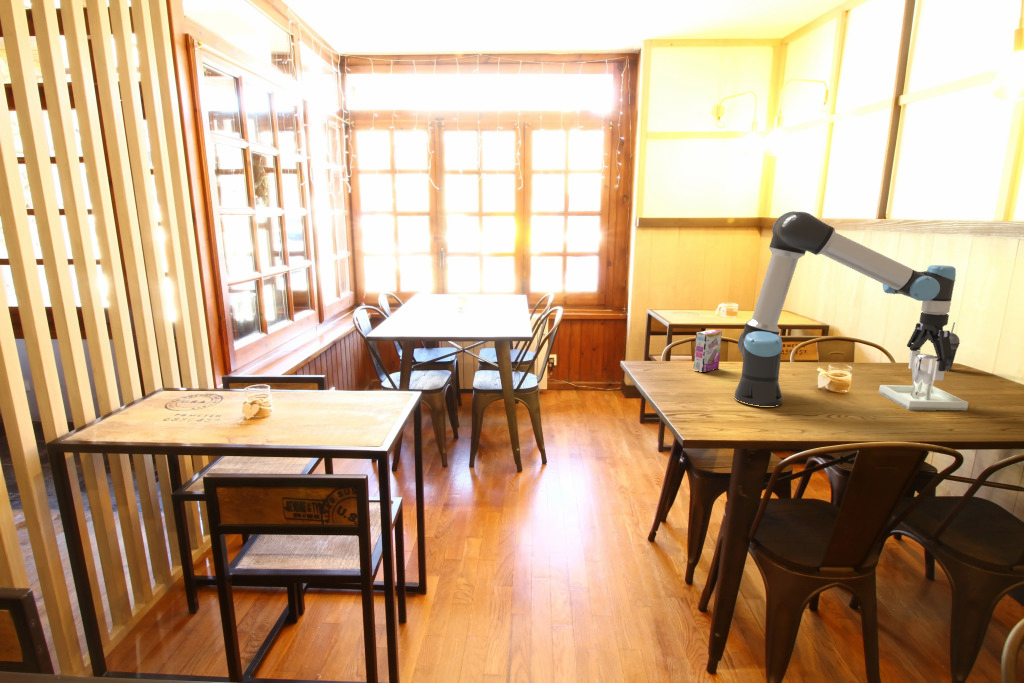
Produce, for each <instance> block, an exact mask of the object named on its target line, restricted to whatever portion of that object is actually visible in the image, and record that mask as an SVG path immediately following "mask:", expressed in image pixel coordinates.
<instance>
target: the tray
mask: <svg viewBox="0 0 1024 683" xmlns="http://www.w3.org/2000/svg"><path fill="white" fill-rule="evenodd" d="M912 388H913V385H906V384H905V385H902V384H901V385H898V384H897V385H896V384H893V385H891V384H879V389H878V394H880V395H882V396H883V397H885V398H887V399H888V400H891V401H892V402H894V403H896V404H898V405H899V406H900V407H902V408H904V409H907V410H908V411H936V410H966V411H965V412H968V407H969V402H968V401H966V400H964V399H962V398H961V397H958V396H955V395H954V394H952V393H949V392H947V391H945V390H943V389H941V388H938V387H936V386H935V385H933V386H932V390H931V401H930V400H914V399H912V398H910V394H911V392H912Z"/></svg>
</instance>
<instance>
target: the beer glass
mask: <svg viewBox="0 0 1024 683" xmlns="http://www.w3.org/2000/svg"><path fill="white" fill-rule="evenodd" d="M937 359H938V358H937V355H933V354H929V353H928V354H927V353H920V354H916V355H915V359H914V363H913V369H911V371H912V372H911V375H912V376H911V377H912V378H911V379H912V386H913V388H912V392H911V394H910V398H912V399H914V400H930V401H931V390H932V386H934V383H935V381H936V380H933V376H934V370H935V364H936V360H937Z"/></svg>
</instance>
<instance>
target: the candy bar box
mask: <svg viewBox="0 0 1024 683" xmlns="http://www.w3.org/2000/svg"><path fill="white" fill-rule="evenodd" d="M695 334H696V336H695V344H694V345H695V347H694V359H693V369H695V370H698V371H702V372H705V371H709V370H713V369H716V370H719V369H718V368H719V367H720V366H719V365H720V356H721V344H722V336H723V335H722V334H723V332H722V331H721V330H718V329H717V330H716V329H709V330H704V331H699V332H698V331H697V332H696V333H695ZM713 371H714V370H713ZM709 372H710V371H709ZM705 373H706V372H705Z"/></svg>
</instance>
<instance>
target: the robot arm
mask: <svg viewBox="0 0 1024 683" xmlns="http://www.w3.org/2000/svg"><path fill="white" fill-rule="evenodd" d="M771 232H772V236H771V240H770V243H769V247H768V249H769V251H770V252H771V256H770V260H769V261H768V262H769V263H768V266H767V268H766V273H765V276H764V279H763V282H762V285H761V289H760V291H759V294H758V298H757V302H756V303H755V304H756V305H755V308H754V311H753V314H752V317H751V318H750V319H749V320H747V321H745V325H744V328H743V331H742V333H740V336H739V337H738V340H737V341H738V342H737V348H738V350H739V353H740V354H741V356H742V370H741V378H740V381H739V382H738V385H737V387H736V389H735V391H734V397H735V398H736V399H737V400H739V401H742V402H745V403H748V404H753V405H759V406H776V405H780V404H781V403H782V404H783V395H782V390H781V388H780V383H779V378H780V377H779V376H780V368H781V359H782V350H783V339H782V337H780V331H781V330H780V329H781V328H780V327H779V325H778V323H779V321H780V317H781V314H782V311H783V307H784V305H785V301H786V298H787V295H788V292H789V289H790V286H791V283H792V279H793V277H794V273H795V271H796V267H797V264H798V261H799V259H800V258H802V257H804V256H805V255H806V253H807V252H808V253H811V254H813V255H815V256H818V255H823V256H825V257H826V258H829V259H831V260H833V261H835V262H837V263H839V264H841V265H844V266H846V267H847V268H849V269H852V270H854V271H856V272H858V273H860V274H862V275H864V276H867V277H868V278H871V279H872V280H875V281H877V282H879V283H881V284H882V290H883V292H885V293H886V294H893V295H903V296H906V297H908V298H911V299H914V300H916V301H919V302H921V312H920V317H919V322H917V323H916V324H915V328H914V329H913V330H914V331H913V332H912V334H911V336H910V338H909V340H908V342H907V344H906V347H908V348H909V350H910V355H909V361H908V369H909V370H912V369H913V363H914V359H915V355H916V354H921V348H922V347H923V346H924V344H925V343H926V342H927V341H930V343H931V344H932V345H933V348H934V352H935V354H936V355H935V356H937V358H938V359H937V360H936V364H935V370H934V376H933V380H935V381H944V379H945V378H944V377H945V372H946V371H945V369H946V363H947V361H952V360H953V357H952V351H951V344H950V333H951V330H944V326H947V325H948V324H949V323H948V322H949V317H950V315H949V313H950V309H951V305H952V303H951V302H952V298H953V292H954V286H955V282H956V276H957V275H956V274H957V273H956V272H957V270H956V268H955V267H954V266H952V265H942V264H941V265H939V264H938V265H937V264H935V265H928V267H927V270H926V271H925V270H924V271H917V270H915V269H913V268H911V267H909V266H906V265H905V264H902V263H900V262H898V261H896V260H894V259H892V258H890V257H888V256H886V255H883V254H882V253H879V252H877V251H876V250H873V249H871V248H869V247H867V246H864V245H863V244H860V243H858V242H857V241H855V240H852V239H850V238H848V237H846V236H843V235H842V234H840V233H838V232H837V231H836V228H835V227H833V226H831V225H829V224H828V223H826V222H824V221H822V220H820V219H819V218H817V217H816V216H815V215H812V214H811V213H809V212H806V211H805V212H804V211H788V212H786V213H784V214H781V216H779V217H778V218H777V219H776V221H775V222H774V224H773V226H772V231H771ZM938 339H939V340H938ZM735 398H734V399H735ZM782 404H781V405H782ZM781 405H780V406H781Z"/></svg>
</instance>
